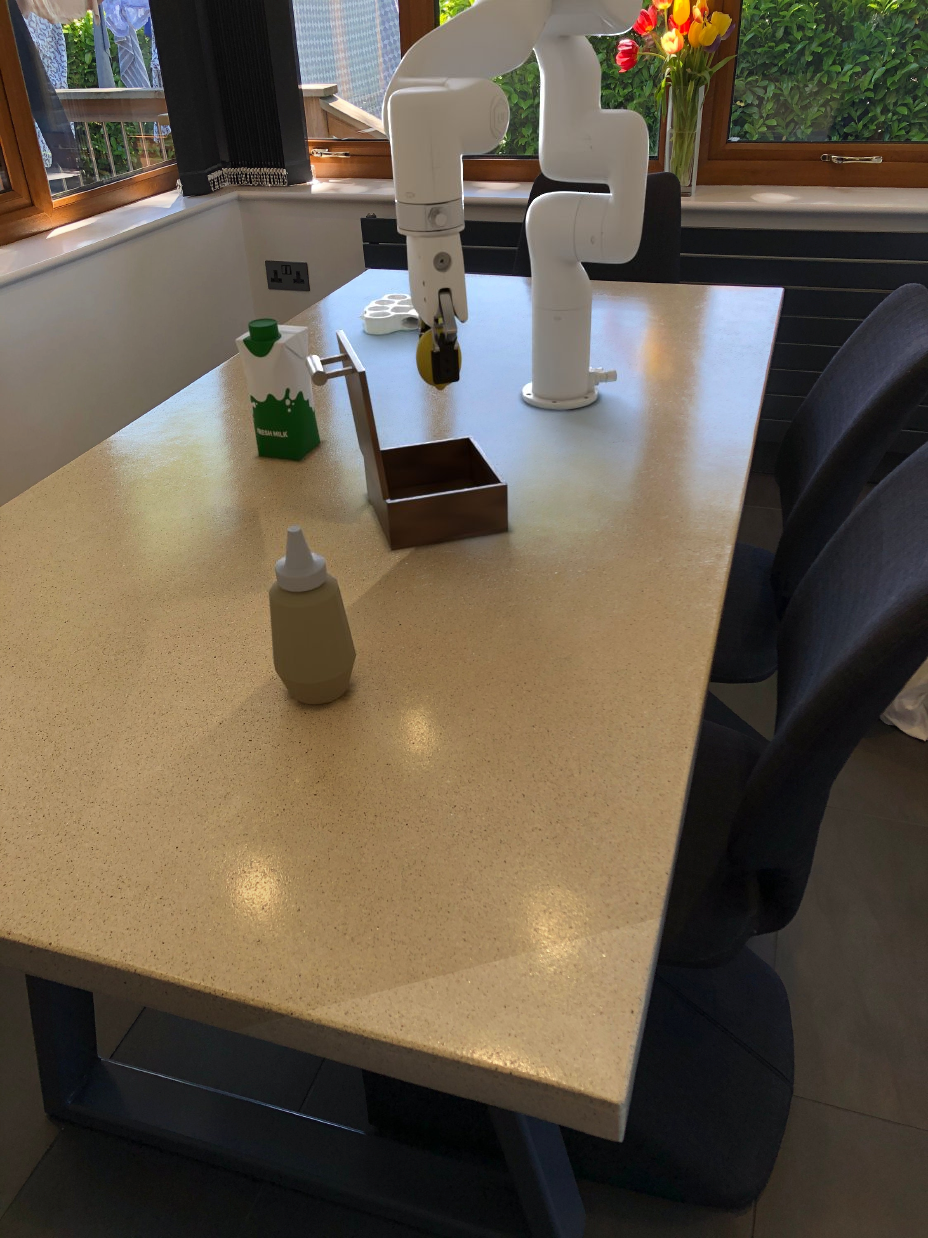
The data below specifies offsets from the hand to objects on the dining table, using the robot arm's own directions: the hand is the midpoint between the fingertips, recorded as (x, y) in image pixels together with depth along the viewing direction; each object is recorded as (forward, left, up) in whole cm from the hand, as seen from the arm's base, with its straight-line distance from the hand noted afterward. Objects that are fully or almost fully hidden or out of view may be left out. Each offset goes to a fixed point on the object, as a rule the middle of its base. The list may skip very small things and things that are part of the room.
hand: (439, 371), depth 113 cm
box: (+2, +1, -19) cm, 19 cm away
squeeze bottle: (+22, +33, -19) cm, 44 cm away
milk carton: (+18, -27, -19) cm, 37 cm away
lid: (+10, +1, -4) cm, 10 cm away
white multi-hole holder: (-11, -86, -19) cm, 89 cm away
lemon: (0, 0, -3) cm, 2 cm away
